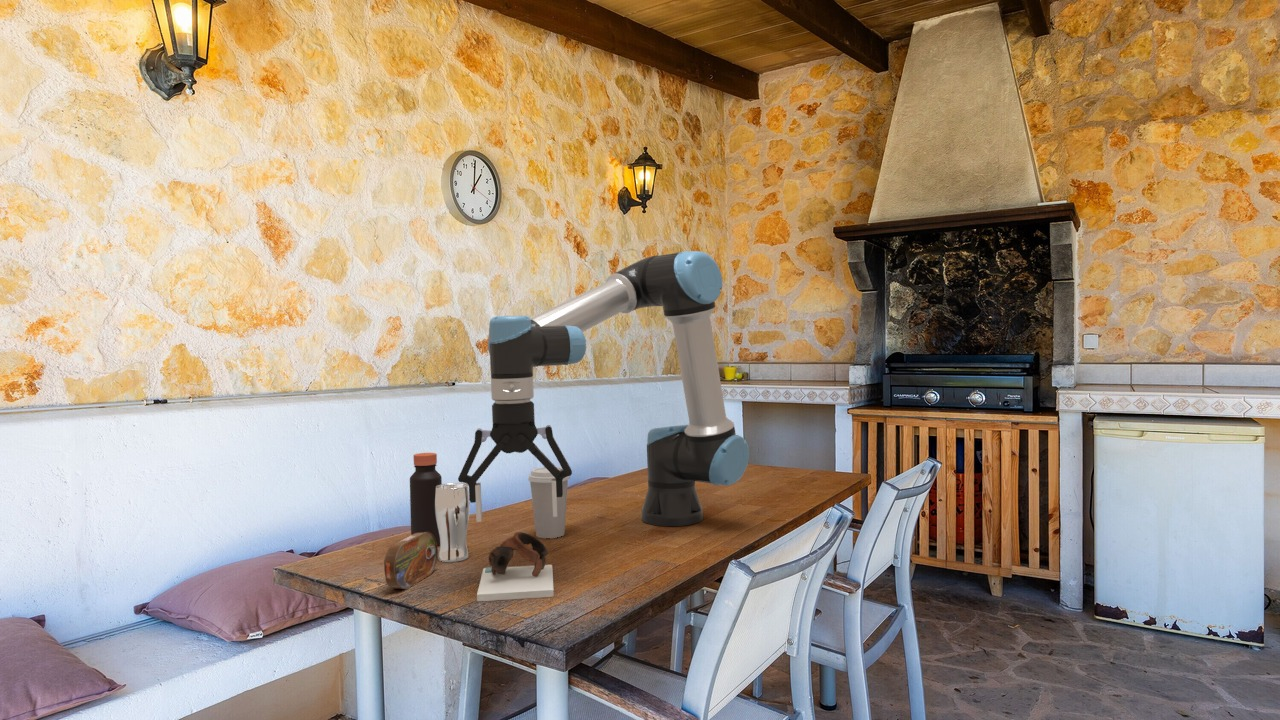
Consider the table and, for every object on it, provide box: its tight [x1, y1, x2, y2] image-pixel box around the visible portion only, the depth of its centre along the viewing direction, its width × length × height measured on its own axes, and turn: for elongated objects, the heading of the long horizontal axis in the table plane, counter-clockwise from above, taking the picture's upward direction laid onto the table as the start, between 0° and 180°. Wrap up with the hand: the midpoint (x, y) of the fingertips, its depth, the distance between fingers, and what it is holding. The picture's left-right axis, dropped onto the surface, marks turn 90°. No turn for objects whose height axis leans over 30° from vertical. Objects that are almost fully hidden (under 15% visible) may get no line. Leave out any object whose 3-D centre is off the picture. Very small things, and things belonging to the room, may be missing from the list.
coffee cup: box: [527, 466, 571, 539], centre depth 171 cm, size 10×10×15 cm
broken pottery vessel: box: [488, 531, 549, 577], centre depth 138 cm, size 12×10×8 cm
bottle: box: [409, 452, 443, 547], centre depth 165 cm, size 7×7×20 cm
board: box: [476, 564, 555, 602], centre depth 136 cm, size 13×15×2 cm
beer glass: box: [435, 482, 471, 563], centre depth 154 cm, size 7×7×15 cm
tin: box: [383, 532, 439, 590], centre depth 139 cm, size 15×3×8 cm, turn 166°
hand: (517, 517), depth 136 cm, fingers open, 13 cm apart
